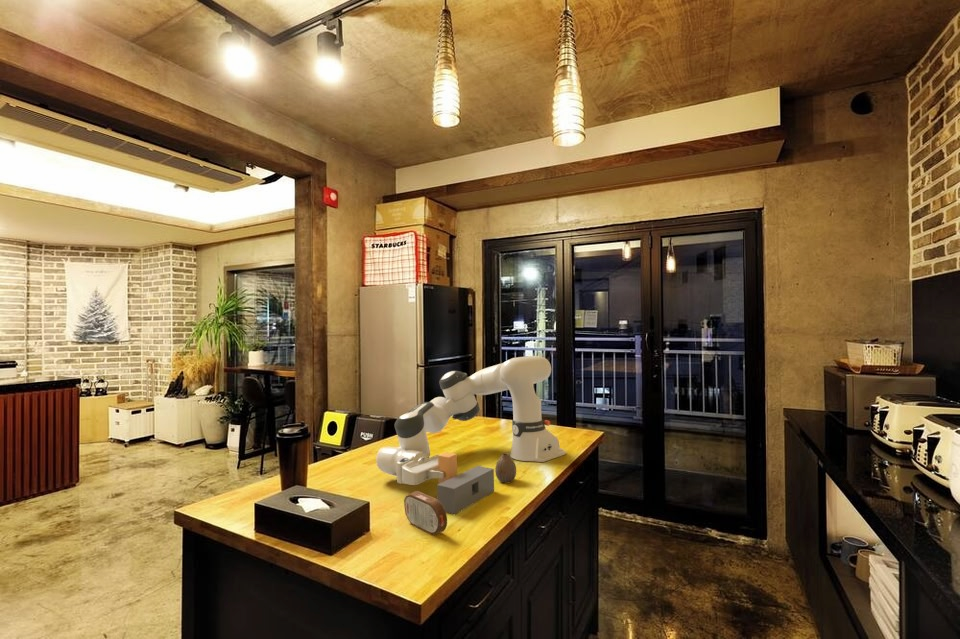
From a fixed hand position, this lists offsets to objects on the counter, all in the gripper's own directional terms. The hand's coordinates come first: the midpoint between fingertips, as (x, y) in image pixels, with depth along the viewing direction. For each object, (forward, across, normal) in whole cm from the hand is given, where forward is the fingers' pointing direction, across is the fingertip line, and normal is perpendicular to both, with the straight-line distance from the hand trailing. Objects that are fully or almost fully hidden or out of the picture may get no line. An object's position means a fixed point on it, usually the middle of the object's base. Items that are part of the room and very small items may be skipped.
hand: (449, 472), depth 136 cm
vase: (+8, -20, -7) cm, 23 cm away
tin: (+8, +21, -7) cm, 23 cm away
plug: (+2, 0, -7) cm, 7 cm away
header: (+6, 0, -7) cm, 9 cm away
